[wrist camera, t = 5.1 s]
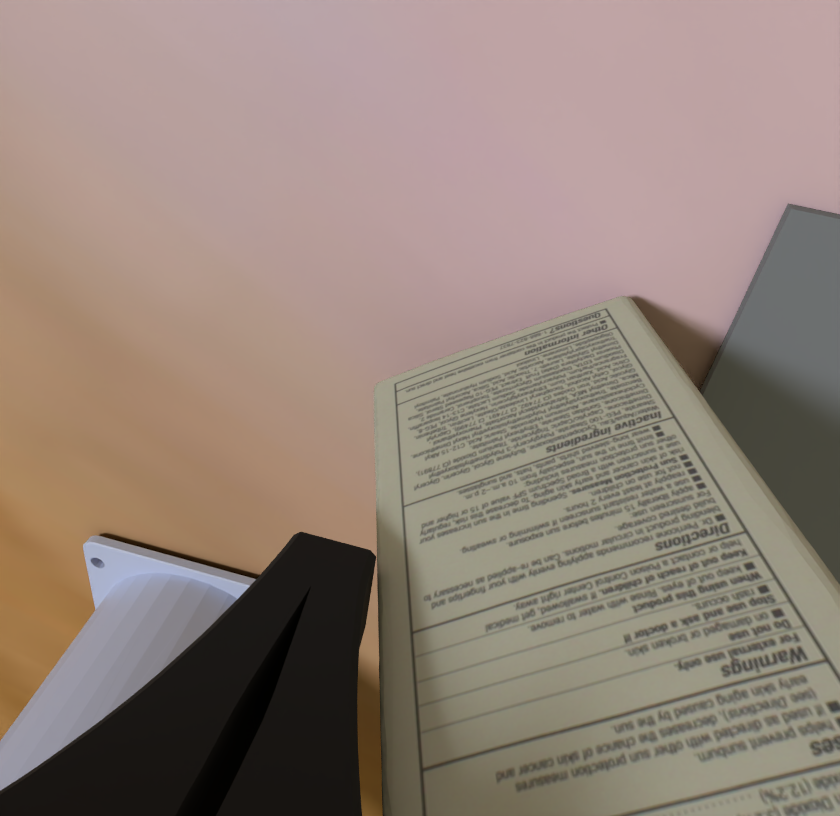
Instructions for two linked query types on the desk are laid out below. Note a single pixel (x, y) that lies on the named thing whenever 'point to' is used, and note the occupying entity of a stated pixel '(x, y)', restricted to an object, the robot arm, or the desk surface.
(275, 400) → the desk surface
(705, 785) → the skincare box
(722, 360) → the mat
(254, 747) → the robot arm
